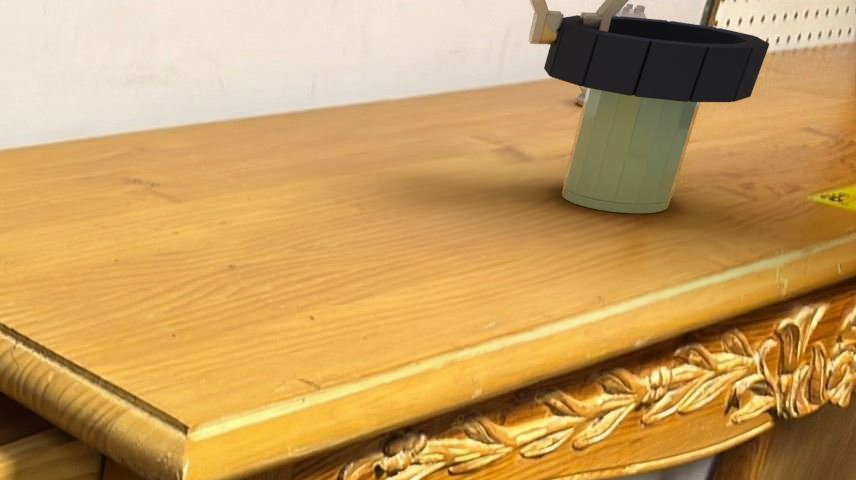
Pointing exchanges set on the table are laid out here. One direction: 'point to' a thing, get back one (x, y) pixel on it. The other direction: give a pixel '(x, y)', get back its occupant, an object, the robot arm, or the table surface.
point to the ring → (658, 59)
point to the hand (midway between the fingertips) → (565, 44)
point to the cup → (628, 152)
